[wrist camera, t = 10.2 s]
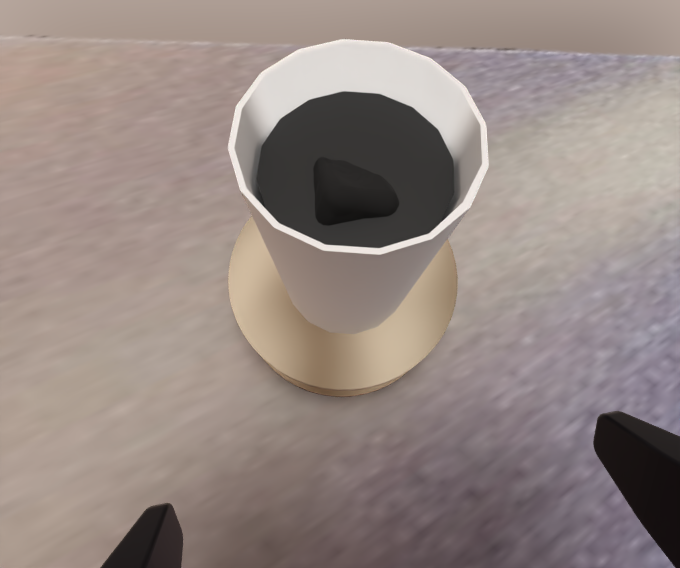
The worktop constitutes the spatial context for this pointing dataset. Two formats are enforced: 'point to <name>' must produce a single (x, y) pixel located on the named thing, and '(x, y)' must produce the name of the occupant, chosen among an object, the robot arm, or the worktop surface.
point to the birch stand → (336, 348)
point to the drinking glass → (356, 173)
